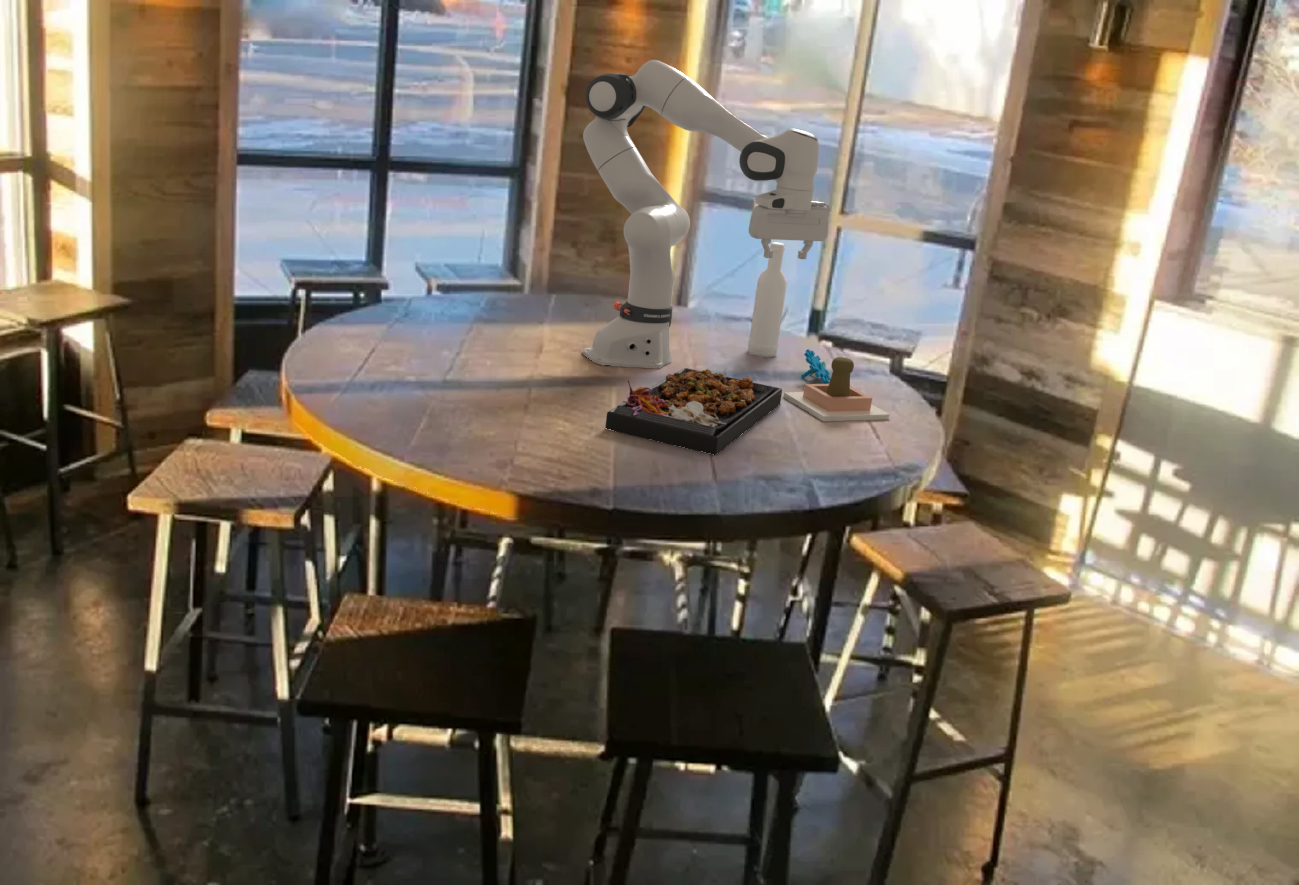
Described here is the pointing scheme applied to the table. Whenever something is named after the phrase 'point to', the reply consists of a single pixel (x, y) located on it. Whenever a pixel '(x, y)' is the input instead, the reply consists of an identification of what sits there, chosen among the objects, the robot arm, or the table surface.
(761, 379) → the table surface
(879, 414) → the holder
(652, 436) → the food platter
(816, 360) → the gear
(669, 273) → the robot arm
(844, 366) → the cork
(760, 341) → the bottle
